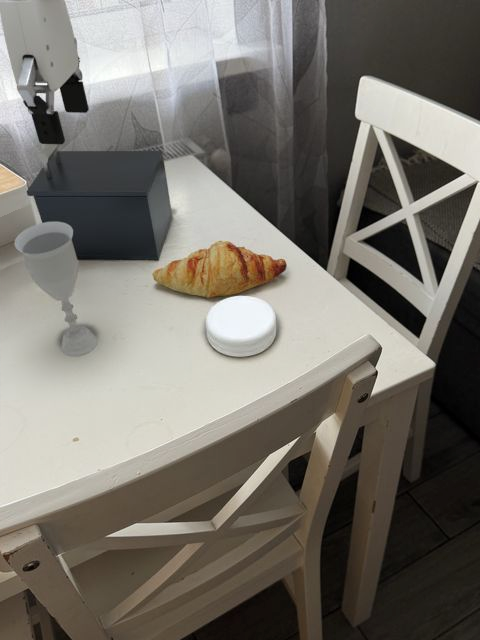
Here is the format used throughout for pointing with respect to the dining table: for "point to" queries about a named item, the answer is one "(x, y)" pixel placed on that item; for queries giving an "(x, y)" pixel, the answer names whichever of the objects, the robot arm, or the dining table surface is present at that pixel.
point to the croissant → (219, 271)
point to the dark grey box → (114, 222)
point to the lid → (94, 172)
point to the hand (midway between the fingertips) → (65, 126)
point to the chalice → (56, 276)
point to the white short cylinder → (241, 326)
